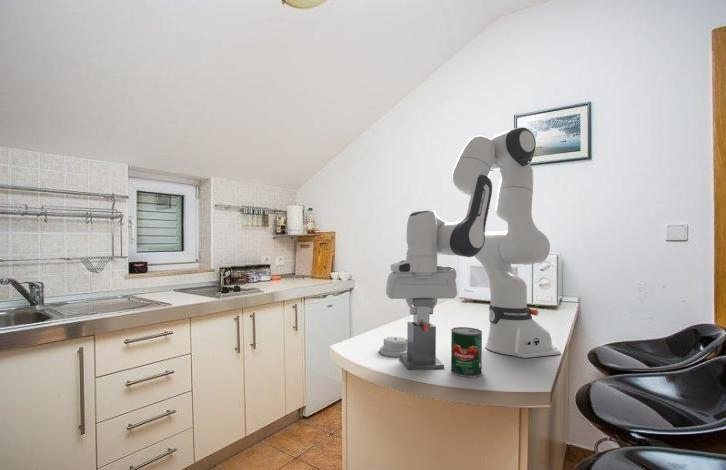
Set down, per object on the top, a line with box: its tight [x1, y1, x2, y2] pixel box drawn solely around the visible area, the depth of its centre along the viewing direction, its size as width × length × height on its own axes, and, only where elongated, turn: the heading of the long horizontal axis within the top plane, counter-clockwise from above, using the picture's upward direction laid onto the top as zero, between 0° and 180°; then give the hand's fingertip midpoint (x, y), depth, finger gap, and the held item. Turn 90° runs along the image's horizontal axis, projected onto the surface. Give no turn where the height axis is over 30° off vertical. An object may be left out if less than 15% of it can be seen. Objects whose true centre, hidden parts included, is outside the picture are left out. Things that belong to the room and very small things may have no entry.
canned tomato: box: [450, 326, 483, 378], centre depth 93 cm, size 8×8×11 cm
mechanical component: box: [379, 336, 407, 358], centre depth 110 cm, size 10×4×10 cm
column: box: [410, 299, 433, 326], centre depth 100 cm, size 5×5×17 cm
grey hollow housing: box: [399, 321, 445, 371], centre depth 100 cm, size 10×10×12 cm
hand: (421, 314), depth 100 cm, fingers closed on column, 4 cm apart
